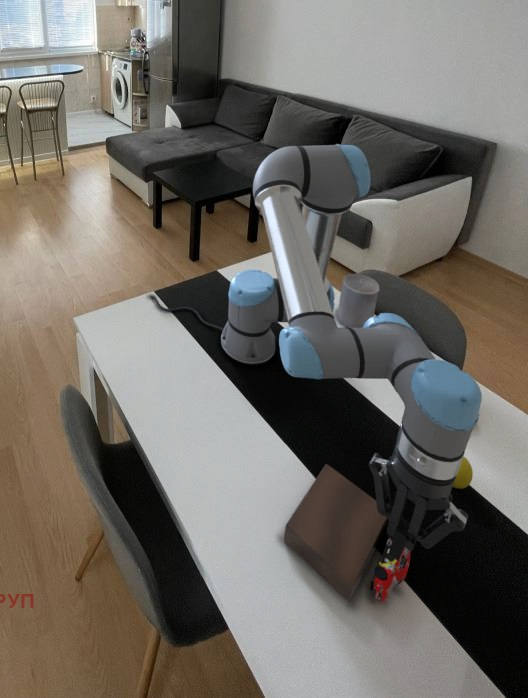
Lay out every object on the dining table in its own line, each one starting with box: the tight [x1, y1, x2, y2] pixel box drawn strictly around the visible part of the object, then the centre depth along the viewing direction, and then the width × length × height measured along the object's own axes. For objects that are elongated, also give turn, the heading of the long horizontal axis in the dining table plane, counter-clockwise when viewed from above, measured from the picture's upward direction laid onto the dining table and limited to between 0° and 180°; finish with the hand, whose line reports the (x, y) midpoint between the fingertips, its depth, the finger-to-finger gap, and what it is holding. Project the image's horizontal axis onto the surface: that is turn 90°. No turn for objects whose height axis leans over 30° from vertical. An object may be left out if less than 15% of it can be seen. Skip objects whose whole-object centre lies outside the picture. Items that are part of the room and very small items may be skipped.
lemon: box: [452, 455, 474, 489], centre depth 86 cm, size 6×6×8 cm
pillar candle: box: [336, 273, 380, 328], centre depth 129 cm, size 10×10×15 cm
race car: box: [369, 534, 412, 603], centre depth 74 cm, size 13×5×4 cm
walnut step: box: [283, 463, 389, 603], centre depth 80 cm, size 12×16×5 cm
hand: (396, 550), depth 71 cm, fingers closed
